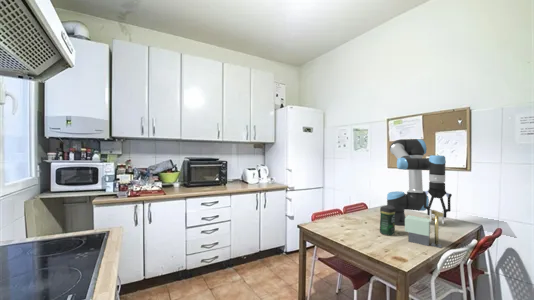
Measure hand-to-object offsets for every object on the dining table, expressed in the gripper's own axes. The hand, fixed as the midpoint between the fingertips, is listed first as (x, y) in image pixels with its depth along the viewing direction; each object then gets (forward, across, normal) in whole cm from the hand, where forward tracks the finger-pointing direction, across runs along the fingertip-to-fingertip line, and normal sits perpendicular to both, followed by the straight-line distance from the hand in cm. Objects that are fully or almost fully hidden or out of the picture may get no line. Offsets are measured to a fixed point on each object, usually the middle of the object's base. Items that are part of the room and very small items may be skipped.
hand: (436, 221), depth 133 cm
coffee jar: (+14, -26, +4) cm, 30 cm away
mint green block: (+8, -9, +1) cm, 12 cm away
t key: (+13, -1, +1) cm, 13 cm away
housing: (+14, -6, 0) cm, 15 cm away
